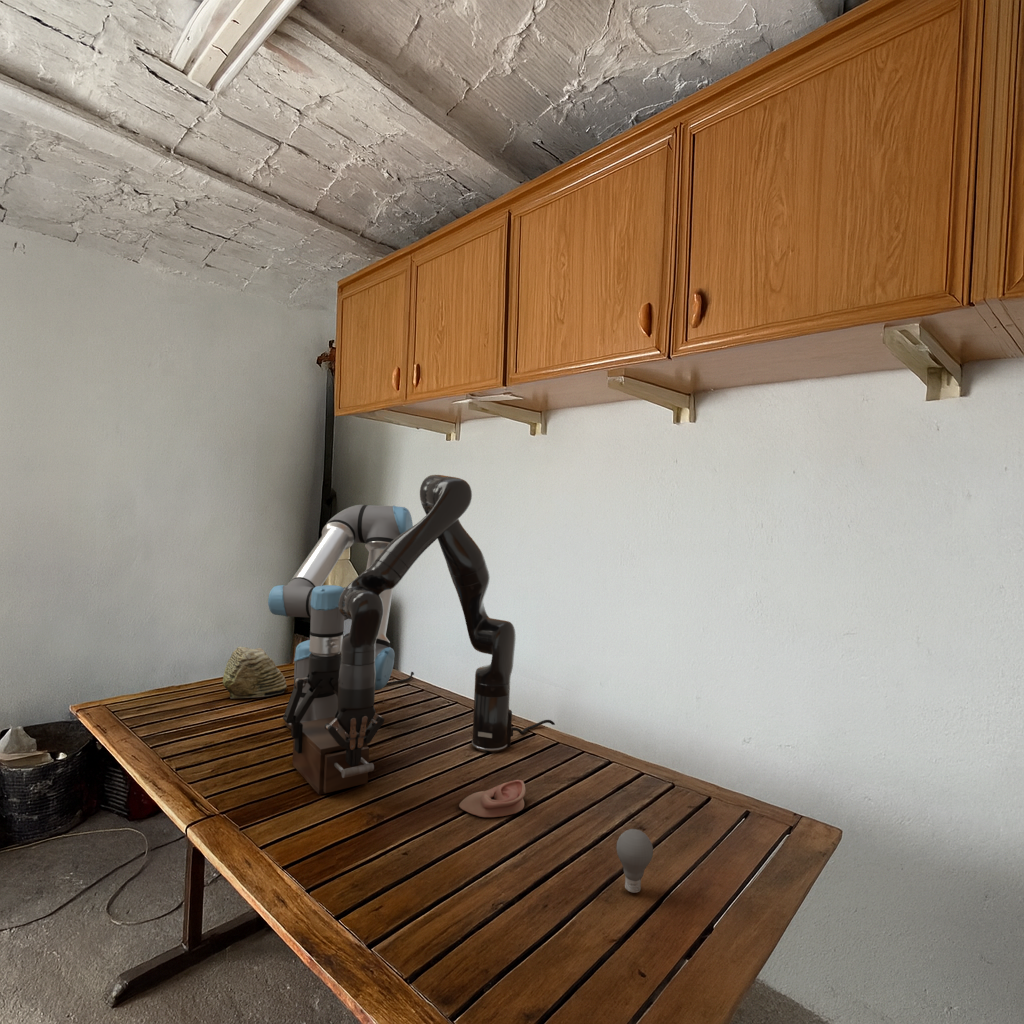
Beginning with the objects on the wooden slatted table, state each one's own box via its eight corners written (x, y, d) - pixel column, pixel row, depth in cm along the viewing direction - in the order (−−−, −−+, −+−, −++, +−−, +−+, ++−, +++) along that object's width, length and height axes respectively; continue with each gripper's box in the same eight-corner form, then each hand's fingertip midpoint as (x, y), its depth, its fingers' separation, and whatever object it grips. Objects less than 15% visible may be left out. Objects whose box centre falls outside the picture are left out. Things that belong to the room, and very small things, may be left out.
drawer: (379, 794, 134) (381, 757, 134) (336, 805, 128) (337, 767, 128) (339, 756, 152) (340, 724, 152) (300, 765, 146) (301, 732, 146)
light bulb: (610, 879, 108) (613, 822, 108) (644, 879, 109) (647, 822, 109) (619, 902, 102) (622, 840, 102) (655, 901, 103) (658, 840, 103)
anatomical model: (455, 794, 129) (470, 770, 140) (454, 813, 129) (469, 788, 140) (519, 803, 126) (529, 778, 137) (518, 822, 126) (528, 796, 137)
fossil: (218, 695, 195) (220, 647, 195) (278, 685, 208) (279, 640, 207) (228, 703, 189) (230, 653, 188) (289, 692, 201) (290, 645, 201)
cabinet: (366, 783, 141) (368, 739, 141) (318, 795, 135) (320, 749, 134) (336, 755, 155) (338, 715, 155) (292, 765, 149) (294, 723, 148)
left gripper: (280, 662, 138) (276, 762, 138) (379, 650, 152) (375, 741, 152) (270, 654, 144) (266, 750, 144) (366, 644, 158) (362, 731, 158)
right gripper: (333, 691, 126) (329, 778, 126) (393, 683, 134) (389, 764, 134) (319, 682, 132) (315, 765, 132) (378, 674, 140) (374, 752, 140)
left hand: (322, 746), depth 148 cm, fingers closed on cabinet, 11 cm apart
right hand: (353, 764), depth 133 cm, fingers closed
